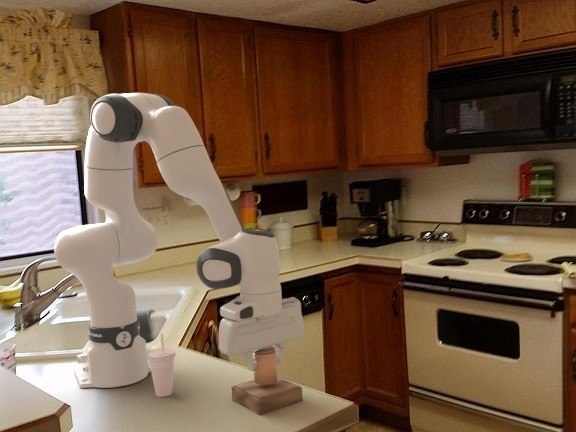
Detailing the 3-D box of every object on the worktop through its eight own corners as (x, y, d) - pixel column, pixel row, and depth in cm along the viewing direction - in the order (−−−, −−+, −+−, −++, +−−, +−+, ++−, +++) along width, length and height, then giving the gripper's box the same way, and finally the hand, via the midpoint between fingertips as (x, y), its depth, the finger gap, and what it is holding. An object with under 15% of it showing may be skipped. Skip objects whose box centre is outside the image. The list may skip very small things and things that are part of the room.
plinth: (232, 400, 134) (231, 385, 133) (273, 387, 140) (272, 373, 140) (260, 415, 125) (259, 399, 124) (302, 400, 131) (301, 385, 131)
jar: (250, 380, 132) (248, 348, 132) (268, 374, 135) (267, 344, 135) (262, 386, 128) (261, 354, 128) (282, 380, 131) (280, 348, 131)
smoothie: (165, 400, 135) (161, 339, 134) (143, 396, 138) (139, 336, 137) (183, 390, 141) (179, 331, 140) (162, 387, 144) (158, 329, 143)
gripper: (291, 293, 139) (294, 352, 140) (213, 309, 127) (217, 374, 128) (308, 297, 134) (311, 358, 135) (228, 314, 122) (232, 381, 123)
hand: (264, 366), depth 132 cm, fingers closed on jar, 5 cm apart
